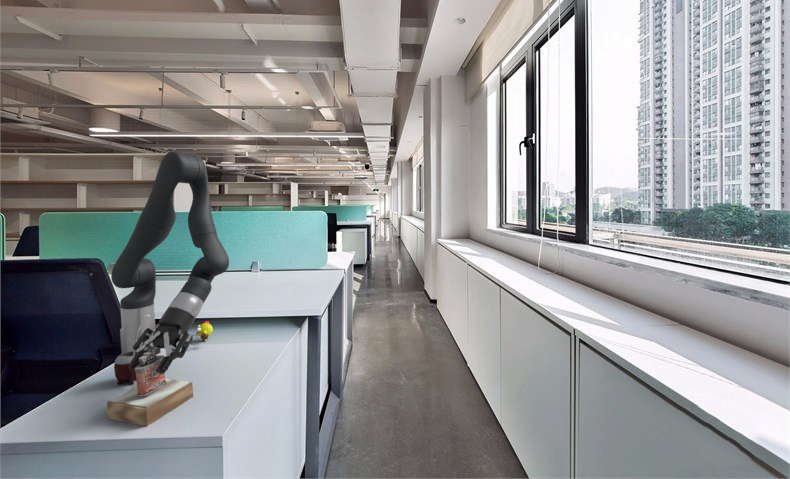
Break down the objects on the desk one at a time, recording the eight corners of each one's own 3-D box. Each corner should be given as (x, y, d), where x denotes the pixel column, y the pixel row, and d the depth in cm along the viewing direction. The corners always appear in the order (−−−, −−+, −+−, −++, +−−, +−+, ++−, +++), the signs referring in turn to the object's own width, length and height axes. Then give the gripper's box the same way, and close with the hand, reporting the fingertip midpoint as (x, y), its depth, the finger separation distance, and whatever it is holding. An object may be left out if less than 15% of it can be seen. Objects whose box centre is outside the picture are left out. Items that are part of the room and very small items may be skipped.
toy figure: (198, 334, 138) (197, 317, 138) (213, 332, 141) (212, 316, 140) (195, 350, 122) (194, 332, 122) (212, 347, 125) (212, 329, 124)
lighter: (146, 399, 83) (143, 359, 82) (133, 398, 83) (129, 359, 82) (169, 382, 91) (167, 345, 90) (157, 382, 91) (154, 345, 90)
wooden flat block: (108, 418, 82) (106, 401, 82) (157, 390, 95) (156, 375, 95) (147, 426, 79) (146, 408, 79) (193, 396, 92) (192, 381, 92)
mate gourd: (116, 389, 96) (113, 337, 94) (113, 379, 101) (110, 330, 100) (149, 380, 101) (146, 331, 99) (144, 371, 106) (141, 324, 105)
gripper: (152, 304, 94) (111, 362, 84) (195, 307, 91) (158, 368, 81) (170, 317, 100) (134, 372, 90) (211, 321, 96) (178, 379, 86)
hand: (145, 370), depth 85 cm, fingers open, 8 cm apart
